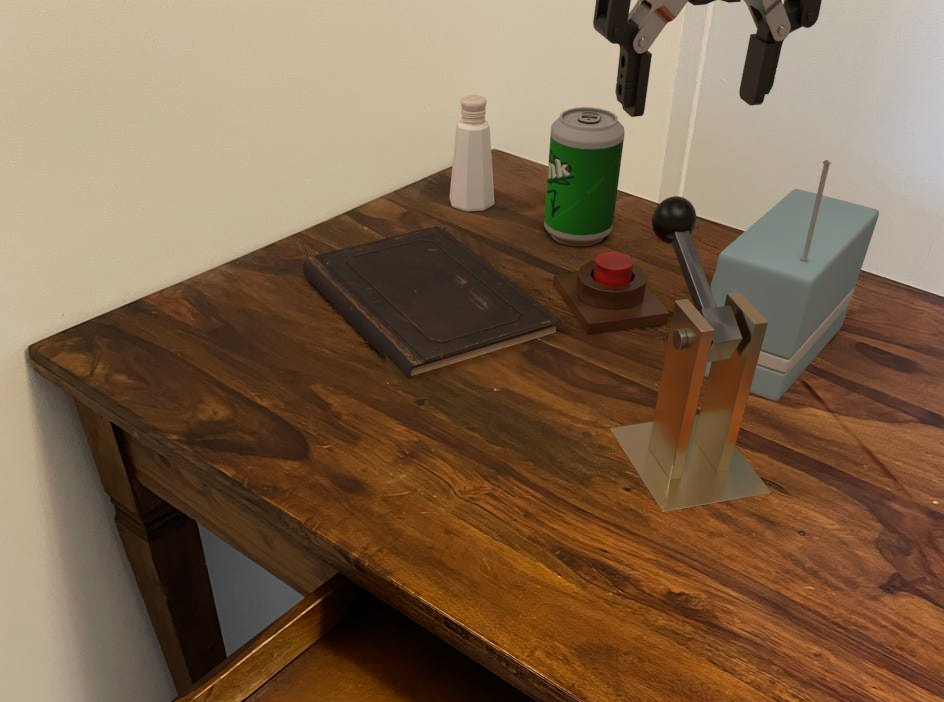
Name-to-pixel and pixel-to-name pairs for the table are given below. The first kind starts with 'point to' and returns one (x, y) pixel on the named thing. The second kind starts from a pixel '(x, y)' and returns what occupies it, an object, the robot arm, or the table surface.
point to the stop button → (613, 268)
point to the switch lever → (696, 273)
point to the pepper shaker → (472, 159)
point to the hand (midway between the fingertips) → (692, 107)
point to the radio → (796, 278)
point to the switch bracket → (698, 415)
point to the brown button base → (610, 301)
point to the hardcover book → (427, 299)
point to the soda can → (583, 175)
